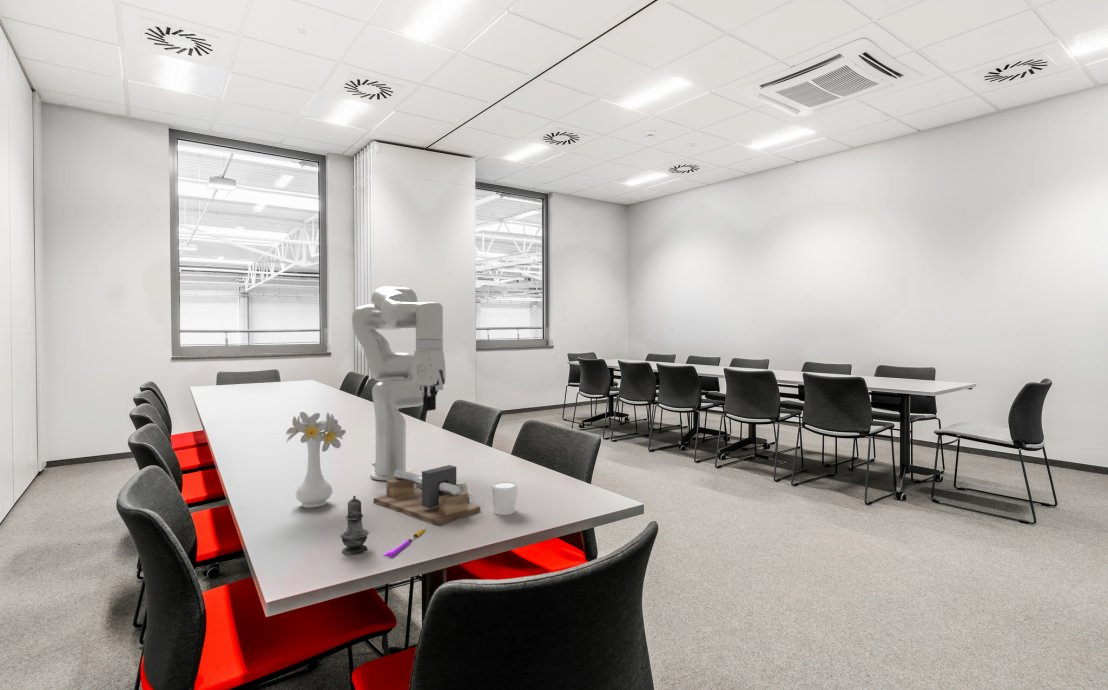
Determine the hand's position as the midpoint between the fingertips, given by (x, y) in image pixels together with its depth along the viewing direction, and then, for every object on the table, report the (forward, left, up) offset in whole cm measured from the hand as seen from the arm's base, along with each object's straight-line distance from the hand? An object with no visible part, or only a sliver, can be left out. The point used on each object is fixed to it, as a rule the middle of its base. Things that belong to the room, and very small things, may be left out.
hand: (429, 409), depth 155 cm
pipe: (+6, -6, -20) cm, 21 cm away
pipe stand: (+6, -6, -25) cm, 26 cm away
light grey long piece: (+2, +3, -26) cm, 26 cm away
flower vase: (-18, -24, -25) cm, 39 cm away
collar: (+12, -6, -23) cm, 26 cm away
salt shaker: (+18, -34, -25) cm, 46 cm away
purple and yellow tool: (+23, -25, -26) cm, 42 cm away
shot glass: (+25, +5, -25) cm, 36 cm away
